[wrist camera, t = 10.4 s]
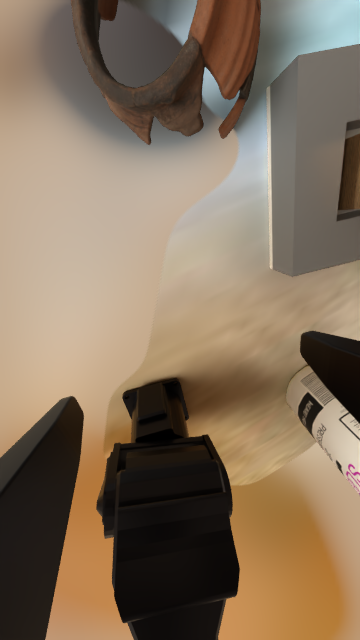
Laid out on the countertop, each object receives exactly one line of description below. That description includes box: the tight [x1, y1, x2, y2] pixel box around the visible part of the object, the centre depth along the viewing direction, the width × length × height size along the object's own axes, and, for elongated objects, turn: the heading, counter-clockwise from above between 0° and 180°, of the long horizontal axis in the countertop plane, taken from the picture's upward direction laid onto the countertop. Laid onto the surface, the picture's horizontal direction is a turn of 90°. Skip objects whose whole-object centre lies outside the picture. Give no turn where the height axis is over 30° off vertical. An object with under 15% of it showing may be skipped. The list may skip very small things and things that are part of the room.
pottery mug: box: [71, 0, 261, 145], centre depth 12 cm, size 12×10×8 cm
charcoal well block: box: [266, 44, 360, 277], centre depth 17 cm, size 13×13×4 cm
